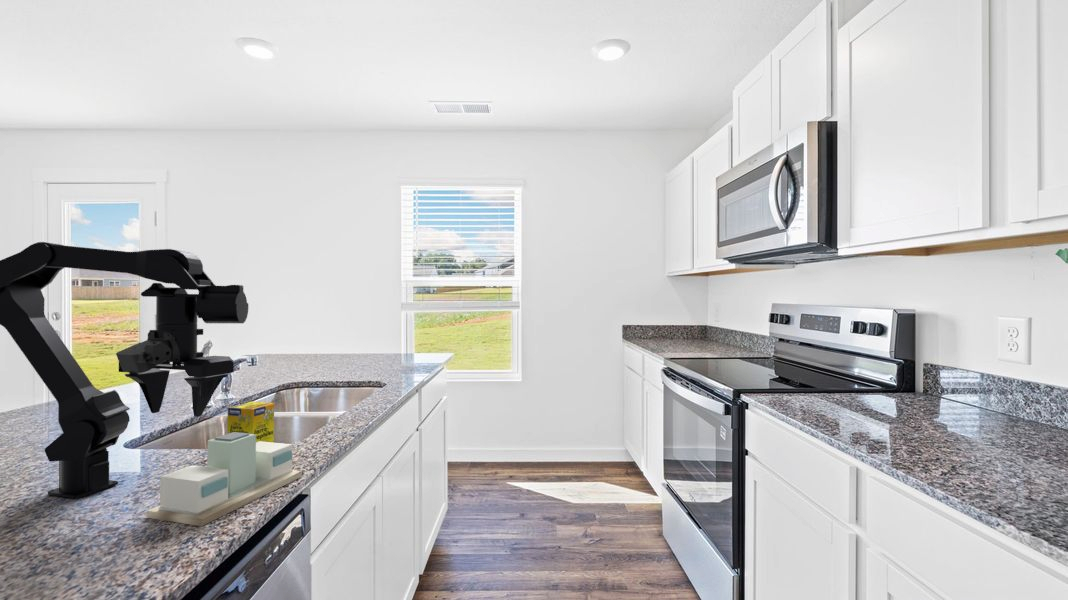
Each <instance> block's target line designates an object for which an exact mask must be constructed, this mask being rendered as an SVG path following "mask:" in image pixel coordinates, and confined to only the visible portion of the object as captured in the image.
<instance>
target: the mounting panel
mask: <svg viewBox="0 0 1068 600" xmlns="http://www.w3.org/2000/svg"><path fill="white" fill-rule="evenodd" d="M302 477H303V470H298V469H293V471H292V472H290V473H288V474H286V475H284V476H282V477H279V478H277V479H275V480H273V481H271V482H269V483H267V484H264V485H262V486H260V487H258V488H256V489H254V490H252V491H250V492H247V493H245V494H243V495H241V496H239V497H237V498H235V499H232V500H230V501H228V502H226V503H224V504H222V505H220V506H218V507H215V508H213V509H211V510H209V511H207V512H205V513H203V514H200V515H198V516H192V515H185V514H178V513H172V512H165V511H158V508H159V507H160V505H157V506H155V507H153V508H150V509H148V510H147V511H146V518H147V519H153V520H159V521H160V520H161V521H168V522H173V523H178V524H186V525H191V526H192V525H193V526H199V527H203V526H205V525H208V524H210V523H211V522H214V521H215V520H218V519H220V518H222V517H223V516H225V515H228V514H230V513H231V512H233V511H235V510H237V509H239V508H242V507H243V506H245V505H246V506H247V504H250V503H252V502H253V501H256V500H258V499H259V498H262V497H264V496H265V495H268V494H270V493H271V492H274V491H275V490H278V489H280V488H281V487H283V486H286V485H288V484H290V483H292V482H294V481H296V480H298V479H300V478H302Z"/></svg>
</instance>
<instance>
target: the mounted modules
mask: <svg viewBox="0 0 1068 600" xmlns="http://www.w3.org/2000/svg"><path fill="white" fill-rule="evenodd" d="M292 469H293V444H291V443H281V442H280V443H279V442H274V443H273V442H263V441H259V442H256V478H264V479H272V478H274V477H277V476H279V475H281V474H283V473H285V472H287V471H290V470H292ZM159 477H160V479H159V482H160V483H159V487H160V488H159V489H160V490H159V498H160V499H159V506H160V507H163V508H170V509H177V510H183V511H190V512H197V513H199V512H201V511H203V510H205V509H207V508H210V507H212V506H214V505H216V504H218V503H220V502H223V501H225V500H227V499H228V470H227V469H219V468H211V467H207V466H202V465H188V466H186V467H184V468H181V469H178V470H175V471H172V472H169V473H166V474H163V475H161V476H159Z"/></svg>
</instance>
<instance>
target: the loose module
mask: <svg viewBox="0 0 1068 600" xmlns="http://www.w3.org/2000/svg"><path fill="white" fill-rule="evenodd" d="M206 449H207V451H206V453H207V456H206V457H207V462H206V464H207V465H206V467H211V468H219V469H227V470H228V494H231V493H233V492H235V491H238V490H240V489H242V488H244V487H246V486H249V485H251V484H253V483H255V482H256V434H249V433H239V432H232V433H229V434H227V433H226V434H223V435H222V434H221V435H220V436H219V435H218V436H217V437H214V438H211V439H208V440H207V448H206Z"/></svg>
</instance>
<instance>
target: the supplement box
mask: <svg viewBox="0 0 1068 600" xmlns="http://www.w3.org/2000/svg"><path fill="white" fill-rule="evenodd" d="M226 427H227V430H226V432H227V433H226V434H229V433H232V432H239V433H249V434H256V442H259V441H263V442H273V443H275V441H274V439H275V403H274V402H264V401H263V402H262V401H248V402H246V403H241V404H238V405H233V406H228V407H227V424H226Z"/></svg>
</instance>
